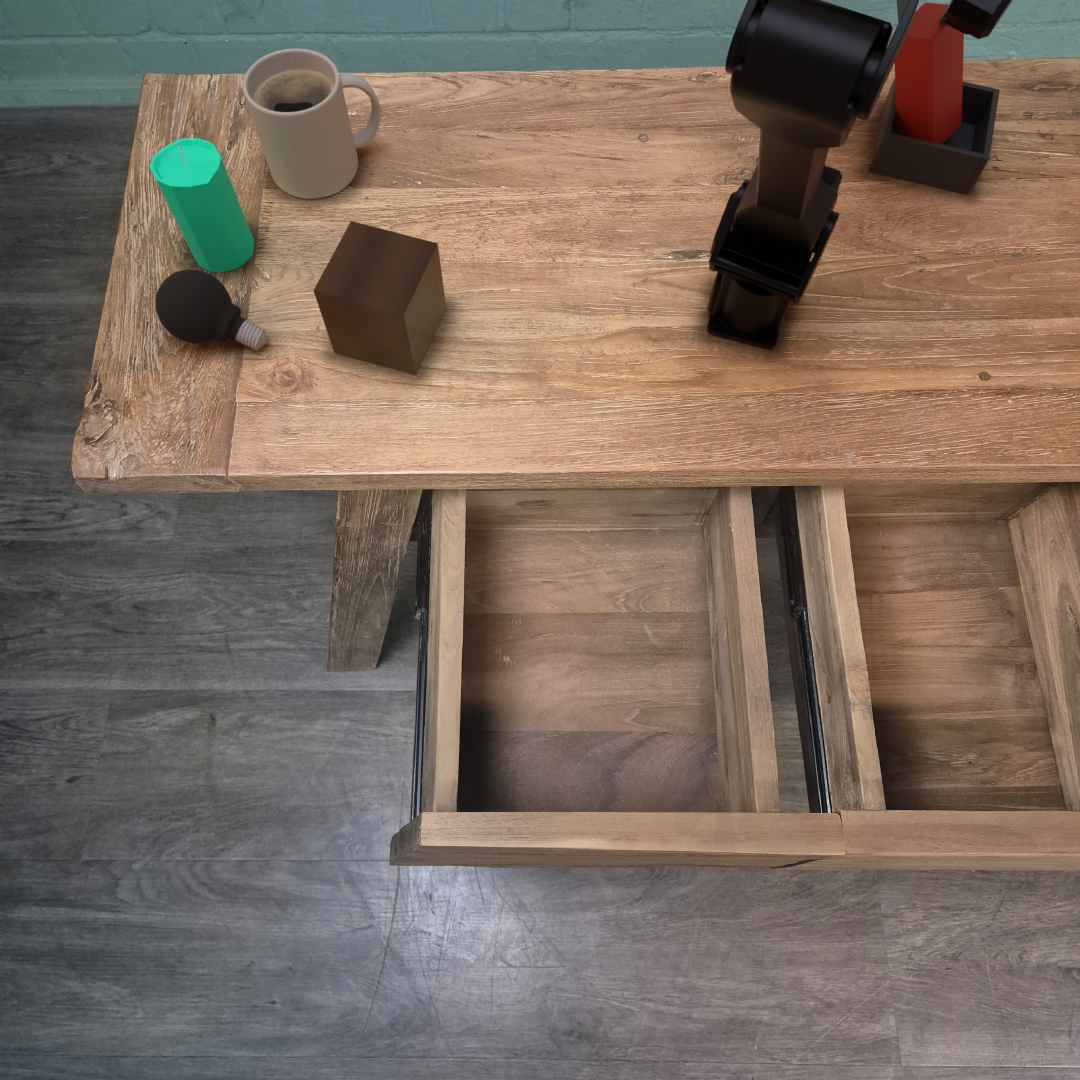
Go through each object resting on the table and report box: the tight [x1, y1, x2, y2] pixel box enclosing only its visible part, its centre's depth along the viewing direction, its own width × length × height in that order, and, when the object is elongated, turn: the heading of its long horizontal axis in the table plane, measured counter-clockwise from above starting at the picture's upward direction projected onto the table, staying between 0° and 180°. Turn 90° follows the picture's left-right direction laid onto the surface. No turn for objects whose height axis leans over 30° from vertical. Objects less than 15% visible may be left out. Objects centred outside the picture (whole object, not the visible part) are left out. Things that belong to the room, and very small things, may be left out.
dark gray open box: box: [868, 77, 1001, 196], centre depth 90 cm, size 10×10×4 cm
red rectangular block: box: [894, 1, 965, 144], centre depth 86 cm, size 5×4×12 cm
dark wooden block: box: [313, 220, 447, 376], centre depth 78 cm, size 8×8×8 cm
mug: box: [242, 48, 382, 200], centre depth 86 cm, size 11×10×10 cm
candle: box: [148, 137, 256, 273], centre depth 80 cm, size 6×6×12 cm
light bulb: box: [154, 268, 267, 351], centre depth 79 cm, size 6×6×10 cm
